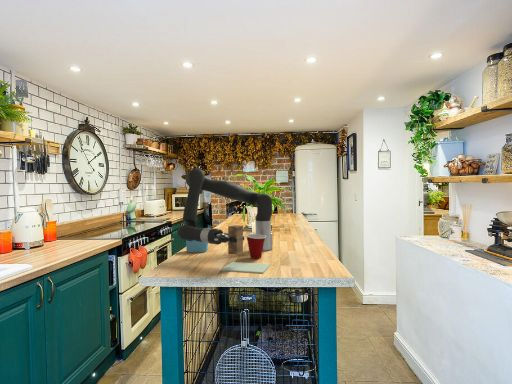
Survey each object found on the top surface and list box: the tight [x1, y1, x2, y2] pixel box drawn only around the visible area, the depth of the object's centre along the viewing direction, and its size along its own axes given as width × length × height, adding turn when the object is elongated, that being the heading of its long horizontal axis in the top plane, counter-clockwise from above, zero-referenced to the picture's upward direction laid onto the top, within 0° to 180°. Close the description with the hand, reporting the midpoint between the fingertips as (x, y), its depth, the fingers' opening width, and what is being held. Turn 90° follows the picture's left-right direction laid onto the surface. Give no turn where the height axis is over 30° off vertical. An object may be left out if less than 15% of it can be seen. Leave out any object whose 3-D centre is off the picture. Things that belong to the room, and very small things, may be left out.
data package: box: [185, 240, 209, 253], centre depth 188 cm, size 12×4×12 cm, turn 86°
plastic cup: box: [245, 233, 266, 260], centre depth 170 cm, size 11×11×12 cm
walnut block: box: [227, 224, 244, 256], centre depth 151 cm, size 5×5×13 cm
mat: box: [220, 261, 272, 274], centre depth 149 cm, size 20×14×1 cm
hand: (240, 239), depth 149 cm, fingers closed on walnut block, 5 cm apart
